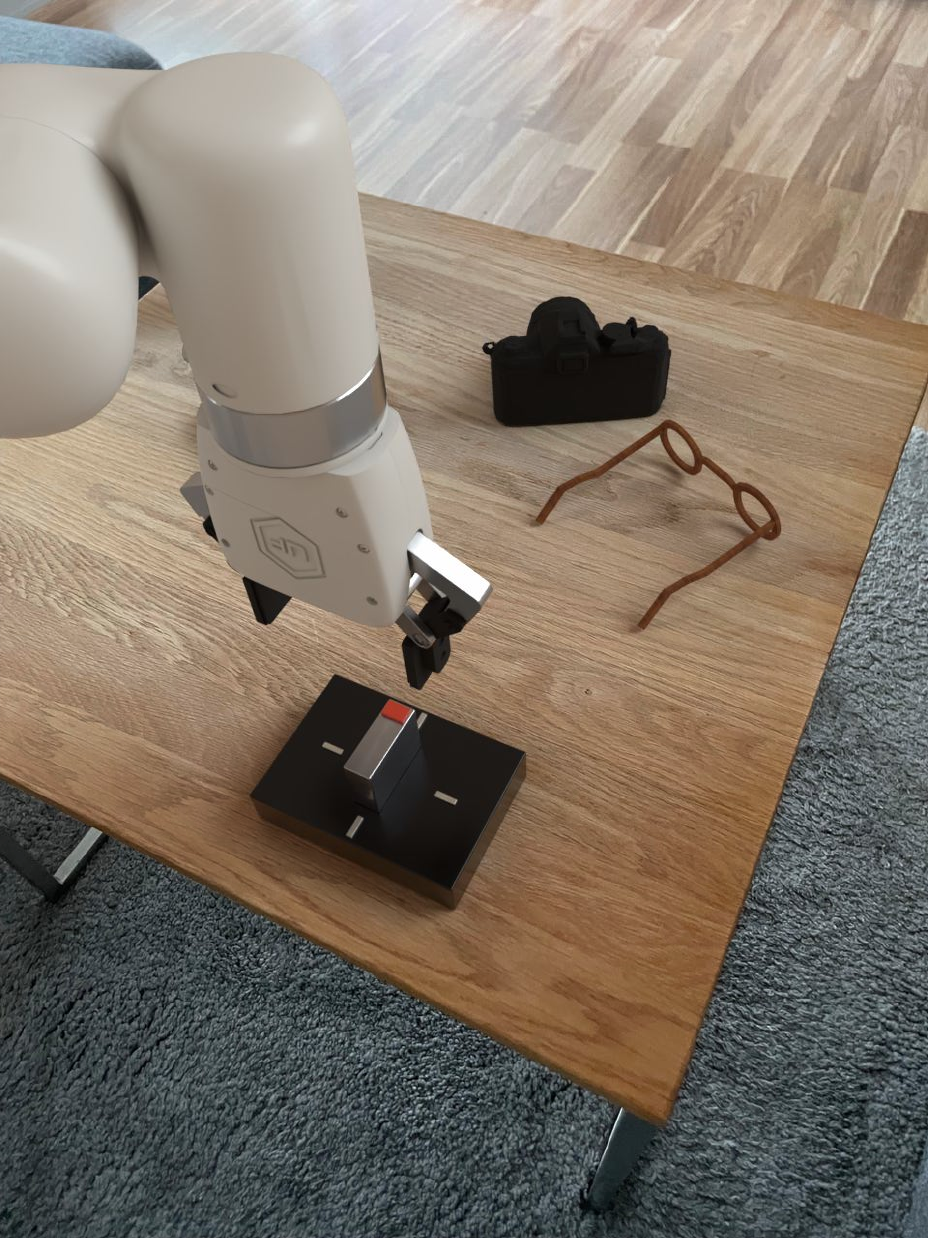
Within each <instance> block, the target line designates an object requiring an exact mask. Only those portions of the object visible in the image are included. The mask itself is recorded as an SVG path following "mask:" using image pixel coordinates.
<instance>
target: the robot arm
mask: <svg viewBox="0 0 928 1238" xmlns="http://www.w3.org/2000/svg"><path fill="white" fill-rule="evenodd" d="M345 112H346V111H345V109H344V107H343V104H342V102H341V99H340V98H339V96H338V94H337V93H336V91H335V89H334V88H333V86H332V85H331V83H330V82H329V81H328V79H326V78H325V77H324V76H323V75H322V74H321V73H320V72H318V71H317V70H316V69H314V68H313V67H311V66H309V65H307V64H305V63H303V62H302V61H299V60H298V59H296V58H293V57H289V56H286V55H283V54H278V53H272V52H264V51H263V52H261V51H236V52H235V51H234V52H224V53H218V54H211V55H206V56H202V57H198V58H194V59H191V60H187V61H185V62H182V63H179V64H177V65H174V66H171V67H169V68H167V69H131V68H127V69H126V68H111V67H109V68H108V67H91V66H79V65H67V64H55V63H41V62H39V63H38V62H37V63H36V62H8V63H6V62H5V63H0V439H3V440H4V439H6V440H21V439H23V440H24V439H35V438H45V437H50V436H53V435H58V434H60V433H64V432H67V431H70V430H73V429H75V428H77V427H78V426H81V425H83V424H84V423H87V422H89V421H91V420H92V419H93V418H94V417H96V416H97V415H98V414H99V413H100V412H101V411H102V410H104V409H105V408H106V407H107V406H108V405H109V404H110V403H111V402H112V400H113V399H114V398H115V396H116V394H117V393H118V392H119V390H120V389H121V387H122V386H123V384H124V382H125V381H126V378H127V375H128V372H129V371H130V369H131V366H132V363H133V359H134V353H135V348H136V337H137V327H138V325H137V324H138V309H139V287H140V286H139V284H140V283H139V280H140V278H141V277H149V278H151V279H154V280H156V281H157V282H158V283H160V285H161V286H162V288H163V289H164V292H165V294H166V297H167V301H168V304H169V306H170V308H171V312H172V314H173V318H174V321H175V324H176V327H177V331H178V333H179V336H180V340H181V342H182V347H181V355H182V359H183V360H184V361H185V362H186V363H187V364H189V366H190V369H191V370H190V371H191V373H192V376H193V380H194V384H195V386H196V389H197V393H198V395H199V396H198V397H199V399H200V402H201V403H200V405H199V407H198V409H197V413H196V448H197V458H198V464H199V471H196V472H193V474H192V475H191V476H190V477H189V478H188V479H187V480H186V481H185V482H184V484H182V486H180V488H179V492H180V493H179V494H181V496H182V497H183V499H185V501H186V502H187V503H188V505H189V506H190V507H191V508H192V510H193V511H194V512H195V514H196V515H197V517H199V518H200V517H201V518H202V519H203V520H204V521H202V527H203V529H204V532H205V533H206V535H207V536H209V537H212V539H213V540H214V541H215V542H217V544H218V545H219V546H220V550H221V551H222V554H223V556H224V558H225V561H226V563H227V565H228V566H229V568H230V569H232V570H233V571H234V572H236V573H237V574H240V575H242V576H243V577H242V578H241V580H242V583H243V586H244V589H245V592H246V595H247V598H248V601H249V604H250V606H251V609H252V612H253V614H254V618H255V620H256V622H257V623H259V624H261V625H263V626H268V625H272V624H273V623H274V621H275V620H276V619H277V618H278V616H279V615H280V613H282V611H283V610H284V609H285V607H286V606H287V605H288V604H289V603H290V601H291V600H292V599H295V600H298V601H301V602H303V603H306V604H308V605H310V606H313V607H315V608H318V609H320V610H323V611H325V612H328V613H330V614H333V615H335V616H337V617H341V618H343V619H346V620H348V621H352V622H353V623H356V624H359V625H362V626H366V627H372V628H386V627H387V628H388V627H391V626H393V625H394V624H396V625H397V626H398V627H399V628H400V630H401V631H402V632H403V633H404V634H405V635H406V636H405V637H404V638H403V640H402V641H401V651H402V657H403V663H404V669H405V675H406V679H407V684H409V687H410V688H413V689H415V690H417V691H422V690H423V688H424V686H425V685H426V683H427V682H428V680H429V679H430V677H431V676H432V674H433V673H435V674H437V675H438V674H440V673H442V671H443V670H444V668H445V666H446V665H447V663H448V662H449V659H450V657H451V652H452V646H451V637H450V636H453V635H456V634H459V633H461V632H462V631H463V630H464V628H465V627H466V625H467V624H469V623H470V622H471V621H472V620H473V619H474V618H475V617H476V616H477V615H478V613H479V612H480V611H481V610H482V609H483V607H484V606H485V604H486V602H487V601H488V599H489V598H490V596H491V595H492V594H493V591H494V586H492V584H491V582H489V581H488V580H487V579H486V578H484V577H482V575H480V574H479V573H477V572H475V571H474V570H473V569H472V568H470V567H469V566H468V565H466V564H465V563H463V562H462V561H461V560H460V559H458V558H456V557H455V556H454V555H452V554H451V553H450V552H449V551H447V550H446V549H444V548H443V547H442V546H440V545H439V544H438V543H436V542H435V540H434V533H433V526H432V518H431V512H430V508H429V504H428V499H427V494H426V490H425V486H424V482H423V479H422V478H423V477H422V474H421V471H420V468H419V464H418V461H417V458H416V455H415V451H414V448H413V445H412V442H411V440H410V438H409V435H408V432H407V429H406V428H405V427H406V426H405V425H404V422H403V419H402V417H401V415H400V413H399V412H398V410H396V409H395V408H393V407H391V406H390V405H389V404H388V397H387V396H388V395H387V389H386V388H387V387H386V381H385V375H384V374H385V373H384V367H383V360H382V359H383V358H382V351H381V346H380V340H379V332H378V326H377V316H376V311H375V303H374V298H373V292H372V291H373V290H372V284H371V279H370V270H369V264H368V257H367V249H366V243H365V236H364V227H363V221H362V220H363V219H362V215H361V214H362V213H361V206H360V199H359V191H358V185H357V178H356V171H355V163H354V155H353V150H352V149H353V148H352V141H351V136H350V131H349V127H348V126H349V125H348V120H347V115H346V113H345ZM415 591H417V592H418V593H419V594H420V595H421V597H422V598H423V599H424V600H425V601H426V603H425V604H424V606H423V607H422V608H421V610H420V611H419V613H417V612H416V611H415V609H413V608H412V606H410V605H409V603H408V601H409V600H410V598H411V597H412V595H413V594H414V592H415Z"/></svg>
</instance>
